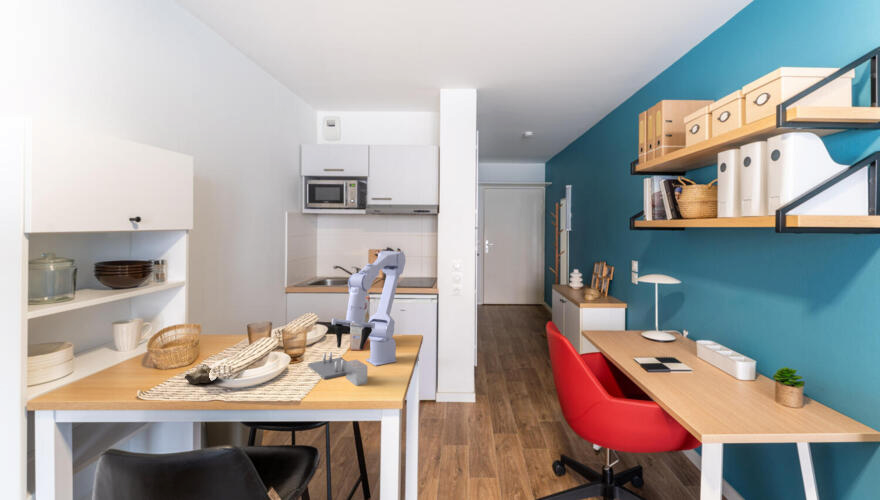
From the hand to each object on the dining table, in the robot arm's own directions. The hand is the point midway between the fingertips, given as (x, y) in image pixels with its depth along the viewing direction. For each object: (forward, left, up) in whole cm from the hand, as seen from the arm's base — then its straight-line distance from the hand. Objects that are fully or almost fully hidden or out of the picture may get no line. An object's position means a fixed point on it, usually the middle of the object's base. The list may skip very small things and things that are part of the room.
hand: (350, 348), depth 138 cm
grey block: (-2, +2, -11) cm, 11 cm away
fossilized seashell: (+40, -26, -11) cm, 49 cm away
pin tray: (0, -13, -11) cm, 17 cm away
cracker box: (-21, -34, -11) cm, 42 cm away
